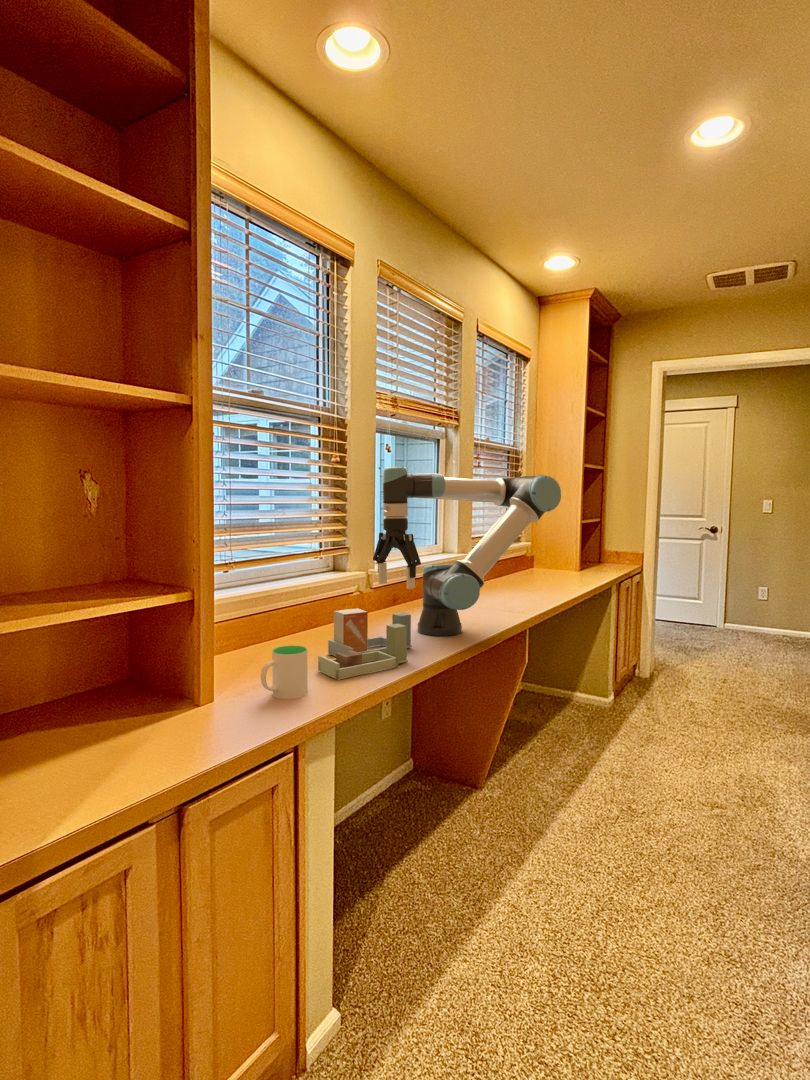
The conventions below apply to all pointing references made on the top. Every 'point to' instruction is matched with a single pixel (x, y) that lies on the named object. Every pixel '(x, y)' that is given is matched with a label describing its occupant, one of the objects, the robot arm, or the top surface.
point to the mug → (287, 672)
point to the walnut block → (348, 658)
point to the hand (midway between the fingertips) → (396, 586)
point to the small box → (351, 628)
